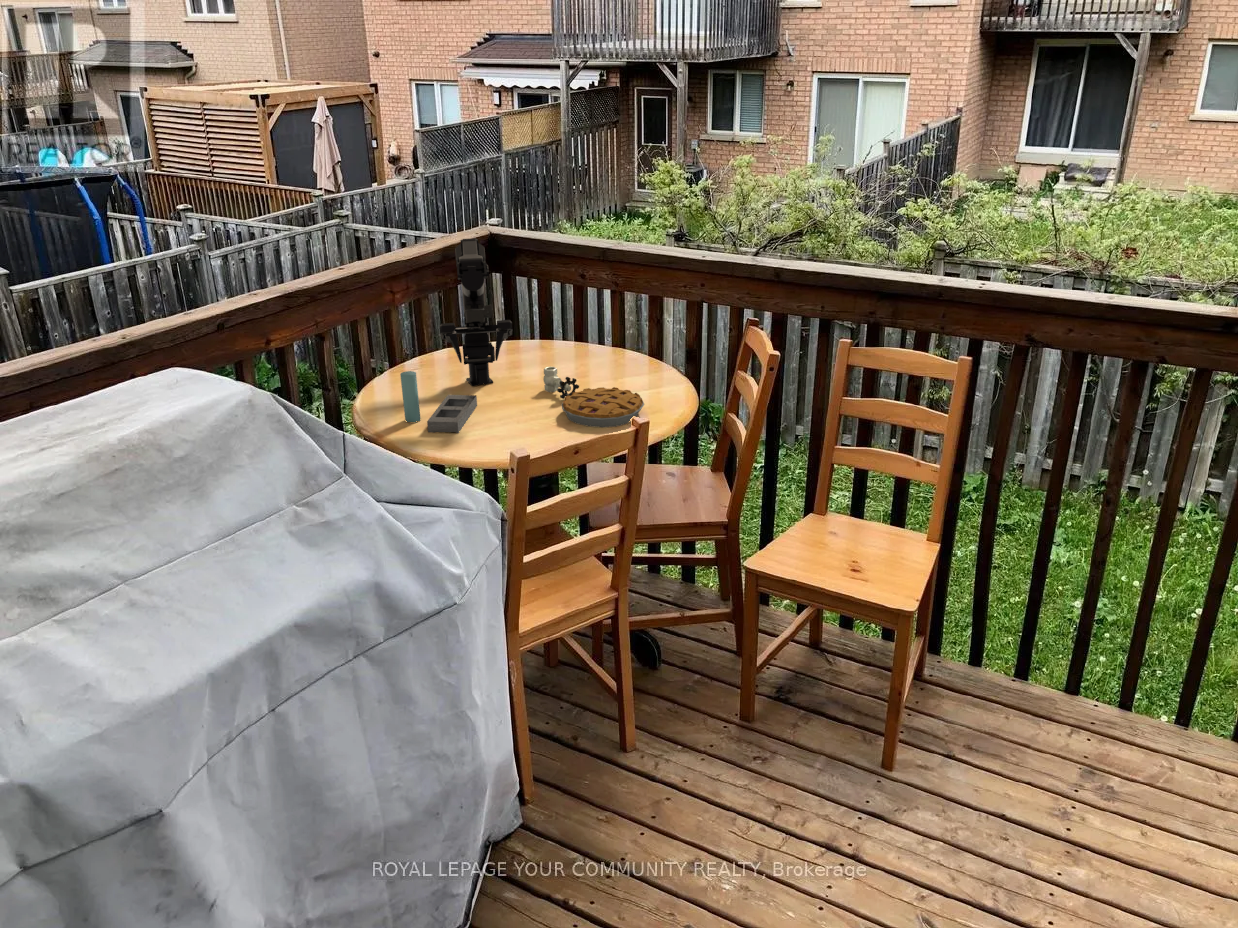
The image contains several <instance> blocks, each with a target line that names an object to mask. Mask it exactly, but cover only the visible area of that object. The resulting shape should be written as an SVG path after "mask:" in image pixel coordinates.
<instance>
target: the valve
mask: <svg viewBox="0 0 1238 928" xmlns="http://www.w3.org/2000/svg"><path fill="white" fill-rule="evenodd" d="M543 375H544V376H543V383H544V391H545V392H547V393H555V392H557V393H560V396H559V398H560V399H562V400H565V397H566V396H571V395H572V392H576V390H578V389H579V388H580V385H579V384H576V383H577V379H576V378H570V376H565V381H563V380H562V378H561V377H559V376H558V368H557V367H555V366H546V367H544V368H543ZM571 385H572V386H571ZM568 392H569V393H568Z"/></svg>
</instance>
